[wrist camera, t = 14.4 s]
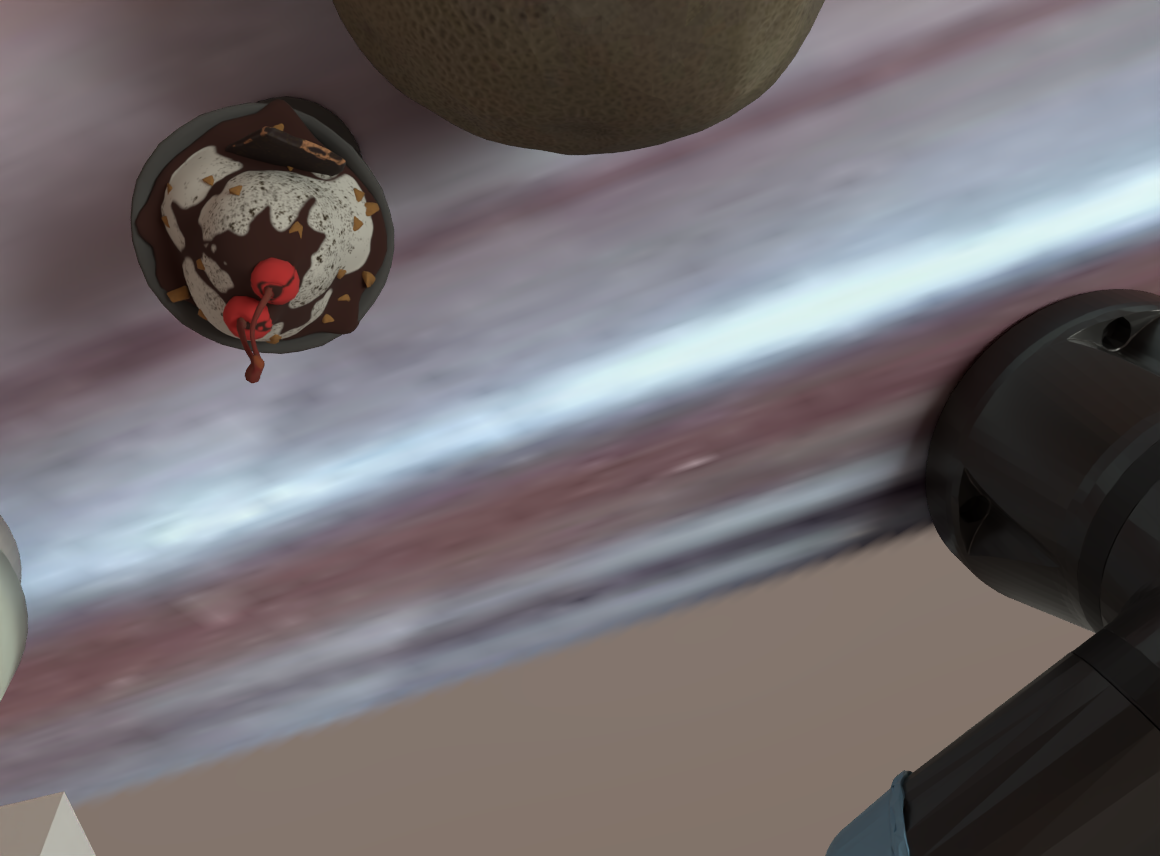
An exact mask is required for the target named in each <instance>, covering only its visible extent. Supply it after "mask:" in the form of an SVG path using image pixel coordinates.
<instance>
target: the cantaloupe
mask: <svg viewBox="0 0 1160 856" xmlns="http://www.w3.org/2000/svg"><path fill="white" fill-rule="evenodd" d="M332 1H333V3H334V5H335V7H336V10H337V12H338V14H339V16H340V18H341V20H342V22H343V23H344V25H345V27H346V29H347V30H348V32H349V34H350V35H351V37H352V38H353V40H354V41H355V43H356V44H357V46H358V47H359V49H360V50H361V52H362V53H363V54H364V55H365V56H366V57H367V59H368V60H369V61H370V62H371V63H372V64H373V66H374V67H375V68H376V69H377V70H378V71H379V72H380V73H381V74H382V75H383V76H384V77H385V78H386V79H387V80H388V81H389V82H390V83H391V84H392V85H393V86H394V87H395V88H397V89H398V90H399V91H401V92H402V93H403V94H405V95H406V96H407V97H409V98H410V99H412V100H414V101H415V102H417V103H419V104H420V105H422V106H424V107H426V108H427V109H429V110H431V111H432V112H434V113H436V114H437V115H439V116H441V117H442V118H444V119H445V120H447V121H449V122H450V123H452V124H453V125H455V126H457V127H459V128H462V129H464V130H466V131H468V132H470V133H472V134H474V135H476V136H479V137H481V138H484V139H486V140H490V141H494V142H498V143H502V144H506V145H510V146H516V147H522V148H528V149H536V150H543V151H548V152H554V153H559V154H565V155H590V154H604V153H617V152H624V151H630V150H636V149H641V148H645V147H650V146H655V145H659V144H663V143H666V142H669V141H672V140H675V139H678V138H681V137H684V136H688V135H691V134H694V133H697V132H700V131H703V130H705V129H707V128H709V127H711V126H713V125H715V124H717V123H719V122H721V121H723V120H725V119H727V118H729V117H730V116H732V115H733V114H735V113H736V112H738V111H739V110H741V109H742V108H744V107H746V106H747V105H748V104H750V103H751V102H753V101H754V100H756V99H757V98H759V97H760V96H761V95H762V94H763V93H764V92H766V91H767V90H768V89H769V88H770V87H771V86H772V85H773V84H774V83H775V82H776V81H777V79H778V78H779V77H780V76H781V74H782V73H783V72H784V71H785V69H786V68H787V67H788V65H789V64H790V63H791V61H792V60H793V58H794V57H795V56H796V54H797V52H798V50H799V49H800V47H801V45H802V44H803V42H804V40H805V38H806V37H807V35H808V33H809V32H810V30H811V28H812V26H813V24H814V22H815V20H816V18H817V15H818V13H819V11H820V9H821V7H822V5H823V3H824V1H825V0H332Z"/></svg>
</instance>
